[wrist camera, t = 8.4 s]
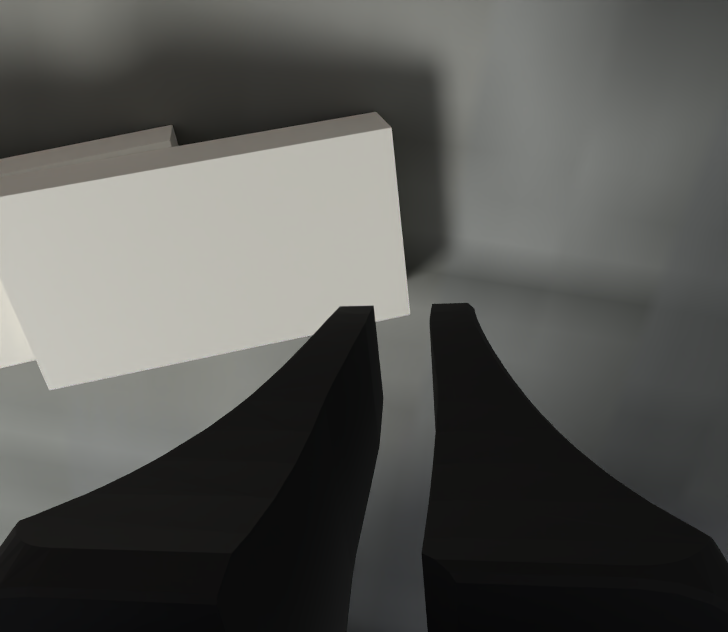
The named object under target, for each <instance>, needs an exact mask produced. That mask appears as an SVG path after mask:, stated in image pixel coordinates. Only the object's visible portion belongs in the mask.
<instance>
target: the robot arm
mask: <svg viewBox="0 0 728 632" xmlns="http://www.w3.org/2000/svg"><path fill="white" fill-rule="evenodd" d="M430 338H431V356H432V374H433V392H434V410H435V428H436V435H435V446H434V458H433V469H432V478H431V488H430V497H429V505H428V513H427V520H426V527H425V535H424V541H423V548H422V564H423V576H424V589H425V602H426V614H427V627H428V632H728V562H727V561H726V559H725V557H724V556H723V554H722V553H721V551H720V549H719V548H718V546H717V545H716V543H715V542H714V540H713V539H712V538H711V537H710V536H708V535H706V534H704V533H703V532H701V531H699V530H697V529H696V528H694V527H692V526H690V525H689V524H687V523H685V522H683V521H682V520H680V519H678V518H676V517H675V516H673V515H671V514H669V513H668V512H666V511H664V510H662V509H661V508H659V507H657V506H655V505H653V504H652V503H650V502H649V501H647V500H645V499H644V498H642V497H641V496H639V495H638V494H636V493H635V492H633V491H632V490H631V489H629V488H628V487H626V486H625V485H623V484H622V483H620V482H619V481H617V480H616V479H614V478H613V477H612V476H610V475H609V474H608V473H606V472H605V471H604V470H603V469H601V468H600V467H599V466H598V465H596V464H595V463H594V462H593V461H591V460H590V459H589V458H588V457H586V456H585V455H584V454H583V453H581V452H580V451H579V450H578V449H576V448H575V447H574V446H573V445H572V444H571V443H570V442H569V441H568V440H567V439H566V438H565V437H564V436H563V435H562V434H560V433H559V432H558V431H557V430H556V429H555V428H554V427H553V426H552V424H551V423H550V422H549V421H548V420H547V419H546V418H545V417H544V416H543V415H542V414H541V413H540V412H539V411H538V410H537V408H536V407H535V406H534V405H533V404H532V403H531V401H530V400H529V399H528V398H527V397H526V395H525V394H524V393H523V392H522V390H521V389H520V388H519V387H518V385H517V384H516V383H515V381H514V380H513V379H512V377H511V376H510V375H509V373H508V372H507V370H506V369H505V367H504V366H503V364H502V363H501V361H500V360H499V358H498V357H497V355H496V354H495V352H494V350H493V349H492V347H491V345H490V344H489V342H488V340H487V338H486V336H485V334H484V333H483V331H482V329H481V326H480V324H479V322H478V320H477V317H476V314H475V310H474V308H473V307H472V306H471V305H469V304H468V303H450V304H432V308H431V314H430ZM382 409H383V390H382V381H381V371H380V362H379V352H378V342H377V333H376V323H375V313H374V305H373V306H340V307H339V308H338V309H337V310H336V311H335V312H334V313H333V314H332V315H331V316H330V317H329V318H328V319H327V320H326V321H325V322H324V324H323V325H322V326H321V327H320V328H319V329H318V330H317V331H316V332H315V333H314V334H313V336H312V337H311V338H310V339H309V340H308V341H307V342H306V343H305V344H304V345H303V346H302V347H301V348H300V349H299V350H298V351H297V352H296V353H295V354H294V356H293V357H292V358H291V359H290V360H289V361H288V362H287V363H286V364H285V365H284V366H283V367H282V368H281V369H280V370H278V371H277V372H276V373H275V374H274V375H273V376H272V377H271V378H270V379H269V380H267V381H266V382H265V383H264V384H263V385H262V386H261V387H260V388H259V389H258V390H256V391H255V392H254V393H253V394H252V395H251V396H249V397H248V398H247V399H246V400H245V401H243V402H242V403H241V404H239V405H238V406H237V407H236V408H234V409H233V410H232V411H230V412H229V413H228V414H226V415H225V416H223V417H222V418H221V419H219V420H218V421H217V422H215V423H214V424H212V425H211V426H210V427H208V428H207V429H205V430H204V431H202V432H200V433H199V434H197V435H196V436H194V437H192V438H191V439H189V440H187V441H186V442H184V443H183V444H181V445H179V446H178V447H176V448H174V449H173V450H171V451H170V452H168V453H166V454H165V455H163V456H161V457H160V458H158V459H156V460H154V461H152V462H151V463H149V464H147V465H145V466H143V467H141V468H139V469H137V470H135V471H134V472H132V473H130V474H128V475H126V476H123V477H121V478H119V479H117V480H115V481H113V482H111V483H109V484H107V485H105V486H103V487H101V488H98V489H96V490H94V491H92V492H90V493H87V494H85V495H83V496H80V497H78V498H75V499H73V500H70V501H68V502H65V503H63V504H61V505H58V506H56V507H53V508H51V509H48V510H46V511H43V512H41V513H39V514H36V515H34V516H31V517H28V518H26V519H23V520H20V521H19V522H18V523H17V524H16V526H15V527H14V528H13V530H12V531H11V532H10V534H9V535H8V536H7V538H6V539H5V541H4V542H3V544H2V545H1V546H0V632H346V630H347V621H348V612H349V603H350V594H351V584H352V576H353V570H354V564H355V558H356V552H357V547H358V543H359V538H360V534H361V529H362V524H363V520H364V515H365V511H366V506H367V502H368V497H369V492H370V488H371V483H372V479H373V474H374V469H375V464H376V460H377V455H378V450H379V444H380V433H381V422H382Z"/></svg>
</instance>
